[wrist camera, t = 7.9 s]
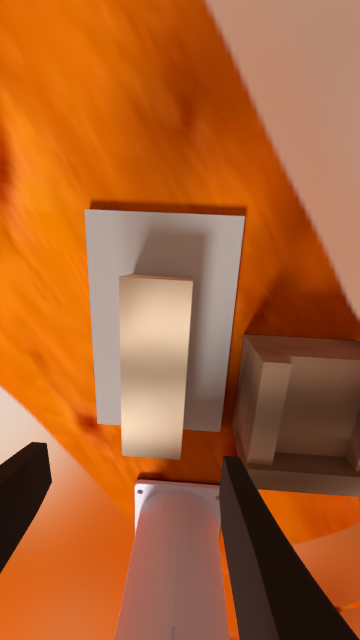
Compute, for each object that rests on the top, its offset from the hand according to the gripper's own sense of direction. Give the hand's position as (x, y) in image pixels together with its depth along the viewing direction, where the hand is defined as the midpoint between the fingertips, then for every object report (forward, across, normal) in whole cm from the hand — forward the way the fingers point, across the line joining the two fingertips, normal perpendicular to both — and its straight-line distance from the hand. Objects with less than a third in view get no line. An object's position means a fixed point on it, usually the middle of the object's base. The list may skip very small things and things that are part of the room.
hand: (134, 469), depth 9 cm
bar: (+8, 0, -1) cm, 8 cm away
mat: (+9, 0, -3) cm, 9 cm away
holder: (+9, -10, +1) cm, 13 cm away
